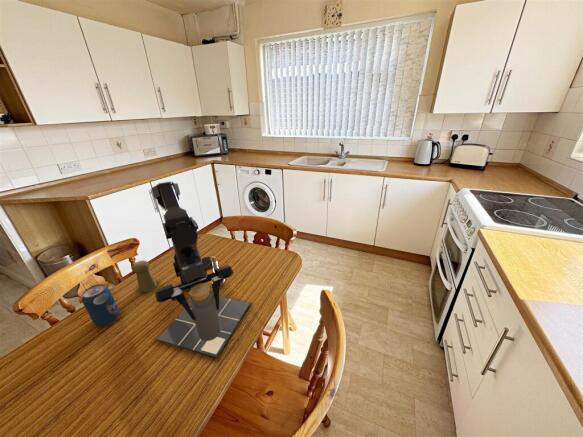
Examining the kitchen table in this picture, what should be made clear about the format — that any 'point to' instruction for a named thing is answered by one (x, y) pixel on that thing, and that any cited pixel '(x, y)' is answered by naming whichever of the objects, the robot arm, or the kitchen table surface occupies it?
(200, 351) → the grid board
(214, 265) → the screw
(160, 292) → the robot arm
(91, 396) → the kitchen table surface
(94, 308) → the soda can
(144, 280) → the pepper shaker
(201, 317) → the bottle
